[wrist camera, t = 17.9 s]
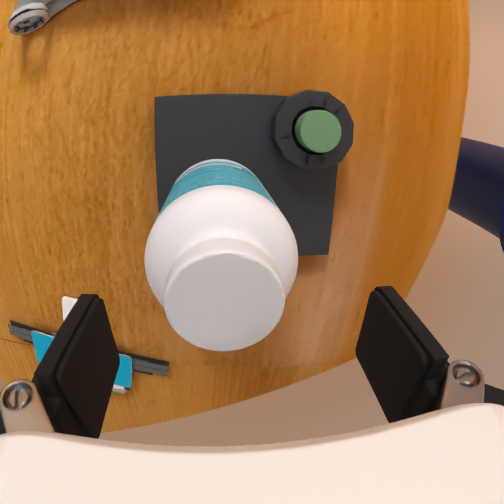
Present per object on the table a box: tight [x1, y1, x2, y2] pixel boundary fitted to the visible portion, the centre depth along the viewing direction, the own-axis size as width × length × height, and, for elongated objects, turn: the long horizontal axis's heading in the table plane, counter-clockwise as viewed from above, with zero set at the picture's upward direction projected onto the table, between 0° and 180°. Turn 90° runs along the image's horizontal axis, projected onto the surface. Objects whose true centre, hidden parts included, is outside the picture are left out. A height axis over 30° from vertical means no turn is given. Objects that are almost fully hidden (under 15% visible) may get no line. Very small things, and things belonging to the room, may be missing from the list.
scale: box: [155, 90, 354, 256], centre depth 23 cm, size 14×14×3 cm
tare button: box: [295, 110, 341, 153], centre depth 20 cm, size 3×3×2 cm
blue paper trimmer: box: [8, 296, 169, 394], centre depth 29 cm, size 20×12×2 cm, turn 74°
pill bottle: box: [145, 159, 298, 351], centre depth 18 cm, size 8×7×14 cm
